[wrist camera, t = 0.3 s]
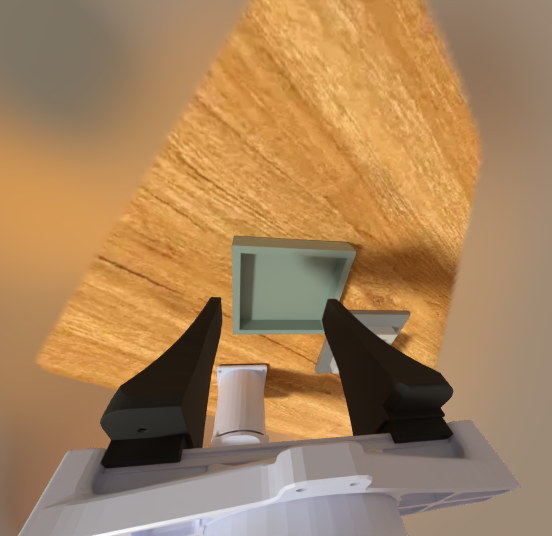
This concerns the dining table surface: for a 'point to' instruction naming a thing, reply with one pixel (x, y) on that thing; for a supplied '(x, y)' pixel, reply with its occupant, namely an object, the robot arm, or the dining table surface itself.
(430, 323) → the dining table surface
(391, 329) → the board
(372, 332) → the robot arm
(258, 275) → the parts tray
